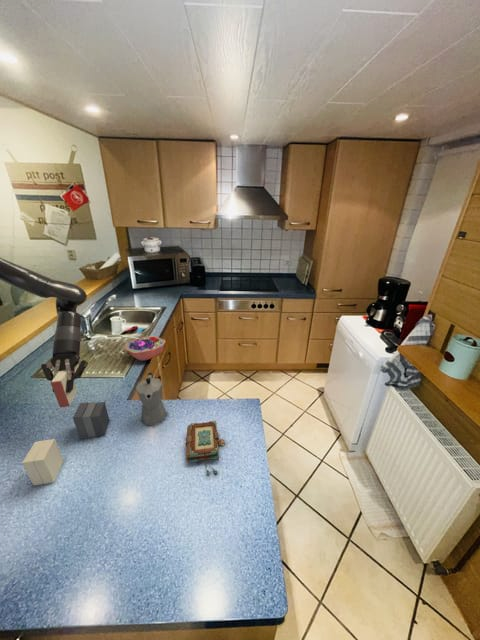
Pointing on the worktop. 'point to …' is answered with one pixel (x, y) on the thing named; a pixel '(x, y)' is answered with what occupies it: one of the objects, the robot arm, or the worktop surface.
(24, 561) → the worktop surface
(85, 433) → the dark grey striped block
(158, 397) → the coffeepot
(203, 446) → the decorative book
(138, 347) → the cell model
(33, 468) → the cream box
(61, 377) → the cream red flat block
